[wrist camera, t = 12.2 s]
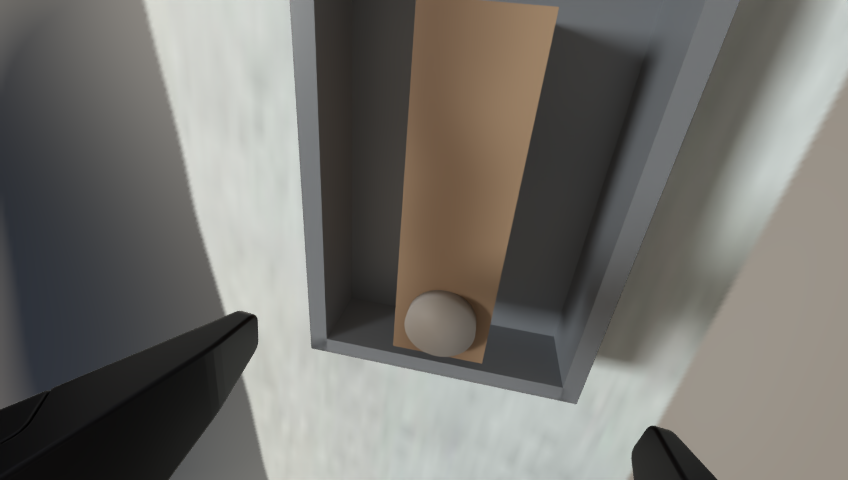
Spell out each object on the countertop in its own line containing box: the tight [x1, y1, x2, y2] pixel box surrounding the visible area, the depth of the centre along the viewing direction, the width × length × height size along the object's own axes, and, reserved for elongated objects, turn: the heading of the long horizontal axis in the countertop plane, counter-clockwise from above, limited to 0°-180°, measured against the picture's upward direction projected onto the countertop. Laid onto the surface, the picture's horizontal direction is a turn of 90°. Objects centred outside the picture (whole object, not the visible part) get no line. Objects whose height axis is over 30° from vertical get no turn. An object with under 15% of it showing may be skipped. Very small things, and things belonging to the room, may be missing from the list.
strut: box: [393, 0, 559, 364], centre depth 14 cm, size 4×12×6 cm, turn 175°
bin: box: [290, 0, 740, 404], centre depth 15 cm, size 18×13×4 cm
